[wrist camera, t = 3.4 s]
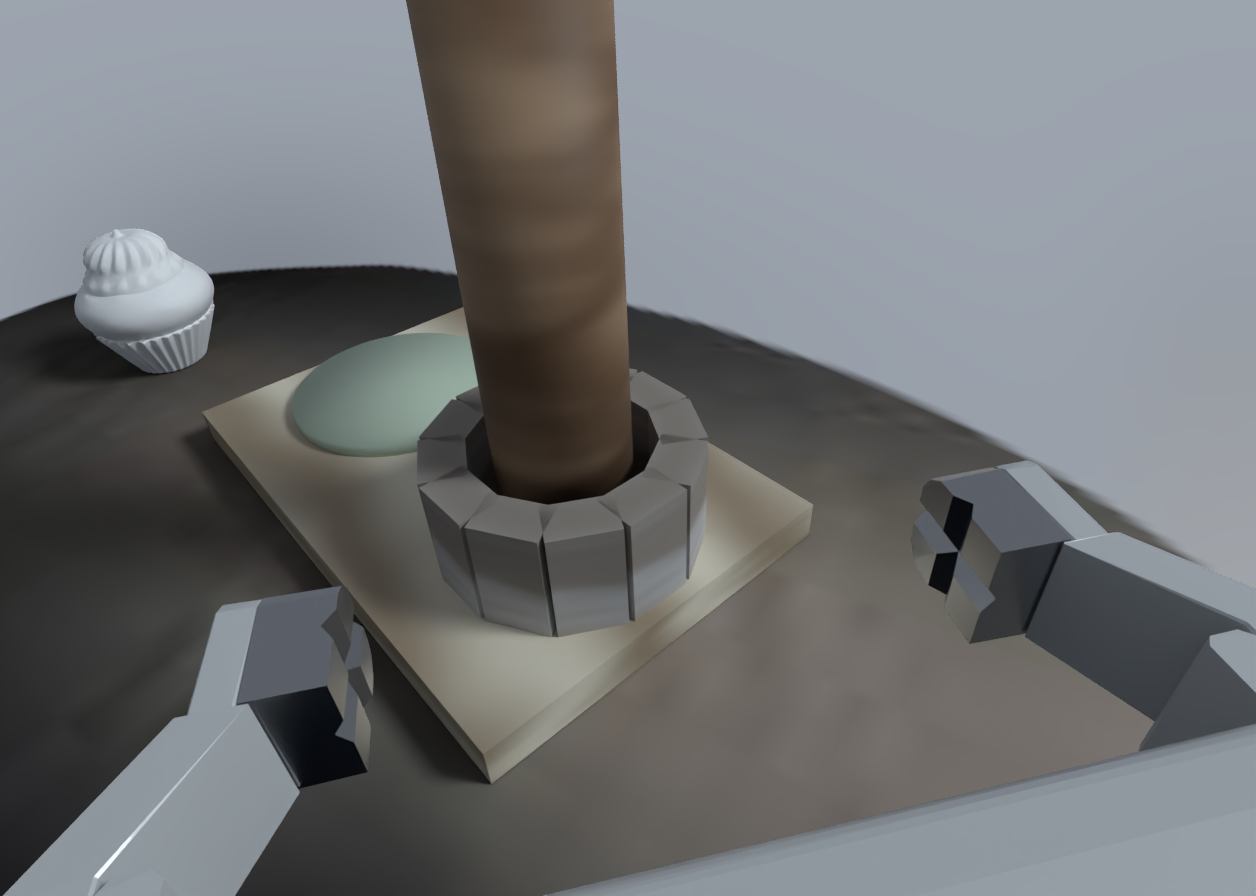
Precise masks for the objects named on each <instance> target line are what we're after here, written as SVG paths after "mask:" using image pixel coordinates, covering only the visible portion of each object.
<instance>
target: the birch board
mask: <svg viewBox="0 0 1256 896" xmlns="http://www.w3.org/2000/svg"><path fill="white" fill-rule="evenodd" d="M411 333H443V334H451V335H457V336H461V337H465V338H468V339H469V334H468V329H467V323H466V318H465V313H464V307H463V308H460V309H458V310H455V311H453V312H450V313H448V314H445V315H443V316H440V317H438V318H435V319H433V320H430V321H428V322H425V323H423V324H420V325H418V326H415V327H413V328H410V329H408V330H405V331H403V332H400V333H398V334H395V335H401V334H411ZM395 335H393V336H395ZM318 366H319V365H318ZM318 366H316V367H318ZM316 367H313V368H311V369H308V370H306V371H303V372H301V373H298V374H296V375H293V376H291V377H288V378H286V379H283V380H281V381H278V382H276V383H273V384H271V385H268V386H266V387H263V388H261V389H258V390H256V391H253V392H251V393H248V394H246V395H243V396H241V397H238V398H236V399H233V400H231V401H228V402H226V403H223V404H221V405H218V406H216V407H213V408H211V409H208V410H206V411H203V412H202V414H203V416H204V418H205V420H206V423H207V425H208V427H209V429H210V431H211V433H212V436H213V438H214V440H215V441H216V442H217V444H218V445H219V446H220V447H221V449H222V450H223V451H224V452H225V453H226V455H227V456H228V457H229V458H230V460H231V461H232V462H233V463H234V465H235V466H236V467H237V468H238V470H239V471H240V472H241V473H242V475H243V476H244V477H245V478H246V480H247V481H248V482H249V483H250V485H251V486H252V487H253V488H254V490H255V491H256V492H257V493H258V494H259V496H260V497H261V498H262V499H263V501H264V502H265V503H266V504H267V506H268V507H269V508H270V509H271V511H272V512H273V513H274V514H275V516H276V517H277V518H278V519H279V521H280V522H281V523H282V524H283V526H284V527H285V528H286V529H287V531H288V532H289V533H290V534H291V535H292V537H293V538H294V539H295V540H296V542H297V543H298V544H299V545H300V547H301V548H302V549H303V550H304V552H305V553H306V554H307V555H308V557H309V558H310V559H311V560H312V562H313V563H314V564H315V565H316V567H317V568H318V569H319V570H320V572H321V573H322V574H323V575H324V576H325V578H326V579H327V580H328V581H329V583H330V584H331V585H332V586H333V587H338V586H344V587H347V589H348V591H349V594H350V596H351V598H352V600H353V603H354V614H355V615H356V616H357V617H358V619H359V620H360V621H361V622H362V624H363V625H364V626H365V627H366V629H367V630H368V631H369V632H370V634H371V635H372V636H373V637H374V639H375V640H376V641H377V642H378V644H379V645H380V646H381V647H382V649H383V650H384V651H385V652H386V653H387V655H388V656H389V657H390V658H391V660H392V661H393V662H394V663H395V665H396V666H397V667H398V668H399V670H400V671H401V672H402V673H403V675H404V676H405V677H406V678H407V680H408V681H409V682H410V683H411V685H412V686H413V687H414V688H415V690H416V691H417V692H418V693H419V694H420V696H421V697H422V698H423V699H424V701H425V702H426V703H427V704H428V706H429V707H430V708H431V709H432V711H433V712H434V713H435V714H436V716H437V717H438V718H439V719H440V721H441V722H442V723H443V724H444V726H445V727H446V728H447V729H448V731H449V732H450V733H451V734H452V735H453V737H454V738H455V739H456V740H457V742H458V743H459V744H460V745H461V747H462V748H463V749H464V750H465V752H466V753H467V754H468V755H469V757H470V758H471V759H472V760H473V762H474V763H475V764H476V765H477V767H478V768H479V769H480V770H481V772H482V773H483V774H484V775H485V776H486V778H487V779H488V780H489V781H490V783H491V784H492V783H493V782H495V781H496V780H497V779H498V778H500V777H501V776H502V775H504V774H505V773H506V772H507V771H509V770H510V769H511V768H512V767H514V766H515V765H516V764H518V763H519V762H520V761H521V760H523V759H524V758H525V757H526V756H528V755H529V754H530V753H532V752H533V751H534V750H535V749H537V748H538V747H539V746H540V745H542V744H543V743H544V742H546V741H547V740H548V739H549V738H551V737H552V736H553V735H554V734H556V733H557V732H558V731H560V730H561V729H562V728H563V727H565V726H566V725H567V724H568V723H570V722H571V721H572V720H574V719H575V718H576V717H577V716H579V715H580V714H581V713H582V712H584V711H585V710H586V709H588V708H589V707H590V706H591V705H593V704H594V703H595V702H596V701H598V700H599V699H600V698H602V697H603V696H604V695H605V694H607V693H608V692H609V691H610V690H612V689H613V688H614V687H616V686H617V685H618V684H619V683H621V682H622V681H623V680H624V679H626V678H627V677H628V676H630V675H631V674H632V673H633V672H635V671H636V670H637V669H638V668H640V667H641V666H642V665H644V664H645V663H646V662H647V661H649V660H650V659H651V658H652V657H654V656H655V655H656V654H658V653H659V652H660V651H661V650H663V649H664V648H665V647H666V646H668V645H669V644H670V643H672V642H673V641H674V640H675V639H677V638H678V637H679V636H680V635H682V634H683V633H684V632H686V631H687V630H688V629H689V628H691V627H692V626H693V625H694V624H696V623H697V622H698V621H700V620H701V619H702V618H703V617H705V616H706V615H707V614H708V613H710V612H711V611H712V610H714V609H715V608H716V607H717V606H719V605H720V604H721V603H722V602H724V601H725V600H726V599H728V598H729V597H730V596H731V595H733V594H734V593H735V592H736V591H738V590H739V589H740V588H742V587H743V586H744V585H745V584H747V583H748V582H749V581H750V580H752V579H753V578H754V577H756V576H757V575H758V574H759V573H761V572H762V571H763V570H764V569H766V568H767V567H768V566H770V565H771V564H772V563H773V562H775V561H776V560H777V559H778V558H780V557H781V556H782V555H784V554H785V553H786V552H787V551H789V550H790V549H791V548H792V547H794V546H795V545H796V544H798V543H799V542H800V541H801V540H803V539H804V538H805V537H806V536H808V535H809V528H810V522H811V515H812V508H813V504H811V503H810V502H808V501H806V500H804V499H803V498H801V497H799V496H798V495H796V494H794V493H793V492H791V491H789V490H788V489H786V488H784V487H783V486H781V485H779V484H778V483H776V482H774V481H773V480H771V479H769V478H767V477H766V476H764V475H762V474H761V473H759V472H757V471H756V470H754V469H752V468H751V467H749V466H747V465H746V464H744V463H742V462H741V461H739V460H737V459H735V458H734V457H732V456H730V455H729V454H727V453H725V452H724V451H722V450H720V449H719V448H717V447H715V446H714V445H712V444H710V443H709V442H708V436H707V434H706V432H705V430H704V428H703V426H702V424H701V422H700V420H699V418H698V416H697V414H696V411H695V409H694V407H693V405H692V403H691V401H690V399H686V396H685V395H684V394H682V393H680V392H678V391H677V390H675V389H673V388H671V387H669V386H668V385H666V384H664V383H662V382H660V381H659V380H657V379H655V378H653V377H651V376H650V375H648V374H646V373H644V372H640V373H638V374H637V370H636V369H629V373H630V396H631V419H632V442H633V466H634V477H633V478H632V479H630V480H628V481H627V482H625V483H623V484H622V485H620V486H619V487H617V488H615V489H614V490H612V491H610V492H609V493H607V494H605V495H604V496H599V497H593V498H587V499H581V500H575V501H569V502H563V503H557V504H551V505H546V504H541V503H536V502H531V501H526V500H521V499H515V498H510V497H505V496H500V495H499V494H498V489H497V484H496V478H495V473H494V468H493V462H492V457H491V451H490V446H489V441H488V435H487V430H486V425H485V419H484V414H483V409H482V403H481V398H480V393H479V387H478V386H477V387H474V388H472V389H470V390H468V391H466V392H464V393H462V394H459V395H457V396H456V400H454V399H451V400H450V402H449V403H448V404H447V405H446V406H445V407H444V408H443V410H442V411H441V412H440V413H439V414H438V415H437V417H436V418H435V419H434V420H433V421H432V422H431V423H430V425H429V426H428V427H427V428H426V429H425V430H424V431H423V433H422V434H421V435H420V436H419V439H420V440H417V452H414V453H409V454H403V455H397V456H388V457H354V456H347V455H341V454H337V453H333V452H330V451H327V450H325V449H322V448H320V447H318V446H316V445H314V444H313V443H311V442H310V441H309V440H308V439H306V438H305V437H304V436H303V434H302V433H301V432H300V430H299V428H298V426H297V423H296V421H295V418H294V415H293V410H292V403H293V398H294V395H295V392H296V390H297V388H298V387H299V385H300V384H301V382H302V381H303V380H304V379H305V377H306V376H307V375H308V374H310V373H311V372H312V371H313V370H314V369H315V368H316Z"/></svg>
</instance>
